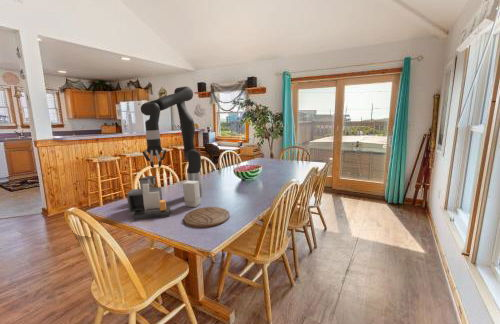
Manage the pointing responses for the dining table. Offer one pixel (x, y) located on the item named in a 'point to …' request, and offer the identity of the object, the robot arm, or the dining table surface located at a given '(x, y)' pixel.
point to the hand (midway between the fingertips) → (156, 167)
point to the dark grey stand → (139, 199)
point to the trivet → (206, 217)
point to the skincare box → (191, 193)
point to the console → (151, 213)
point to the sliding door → (150, 198)
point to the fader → (162, 205)
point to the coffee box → (148, 181)
